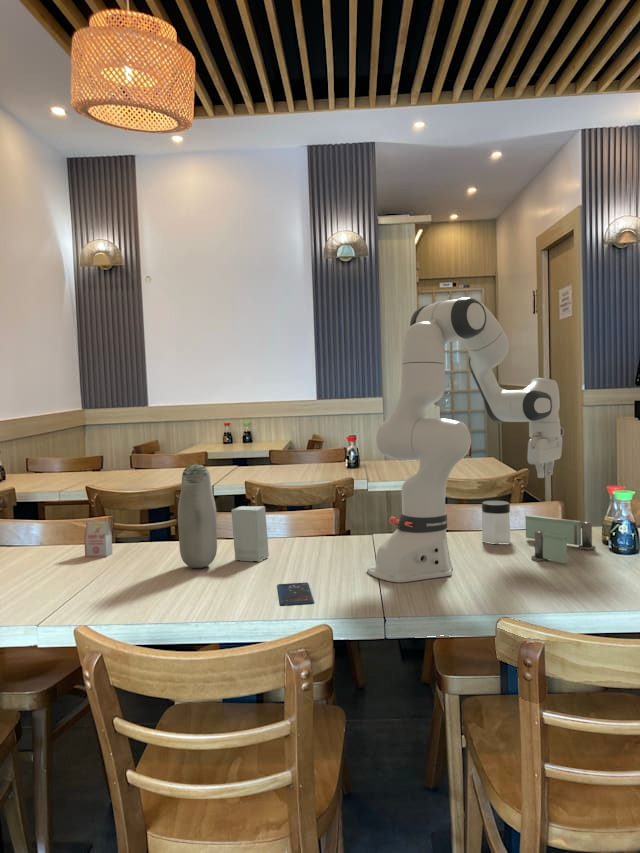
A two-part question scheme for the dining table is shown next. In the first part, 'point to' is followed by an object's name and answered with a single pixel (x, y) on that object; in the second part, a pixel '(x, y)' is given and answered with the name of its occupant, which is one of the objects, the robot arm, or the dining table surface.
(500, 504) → the jar
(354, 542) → the dining table surface
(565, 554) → the fence panel
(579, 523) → the gate
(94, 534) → the white printed carton
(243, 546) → the skincare box
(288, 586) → the smartphone
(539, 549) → the post
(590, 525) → the hinge post
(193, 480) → the grey tall rounded cylinder
